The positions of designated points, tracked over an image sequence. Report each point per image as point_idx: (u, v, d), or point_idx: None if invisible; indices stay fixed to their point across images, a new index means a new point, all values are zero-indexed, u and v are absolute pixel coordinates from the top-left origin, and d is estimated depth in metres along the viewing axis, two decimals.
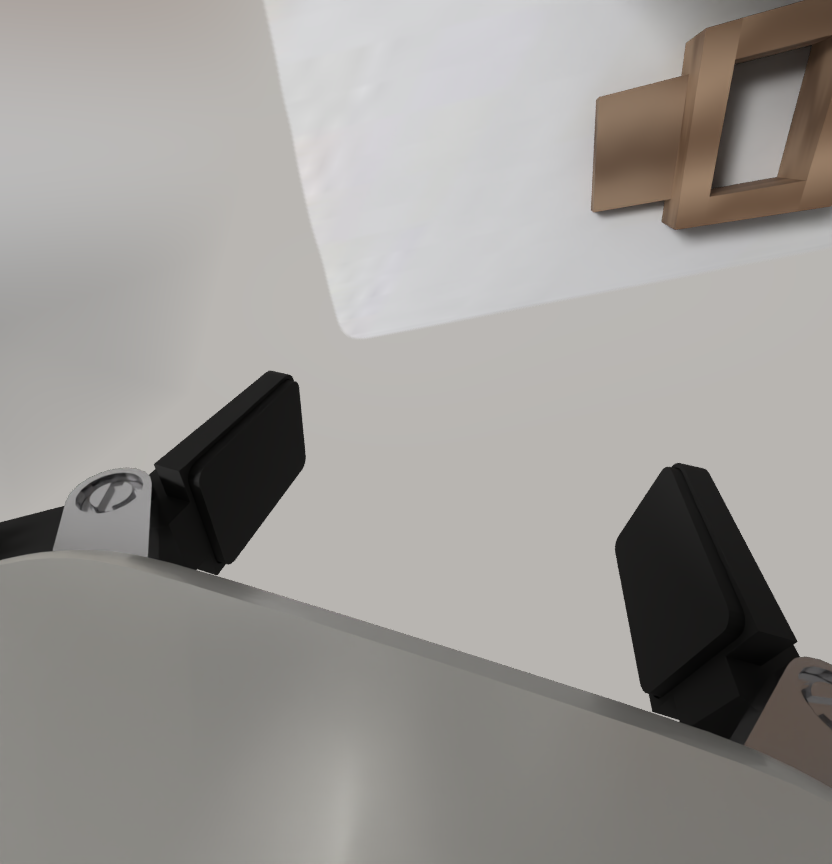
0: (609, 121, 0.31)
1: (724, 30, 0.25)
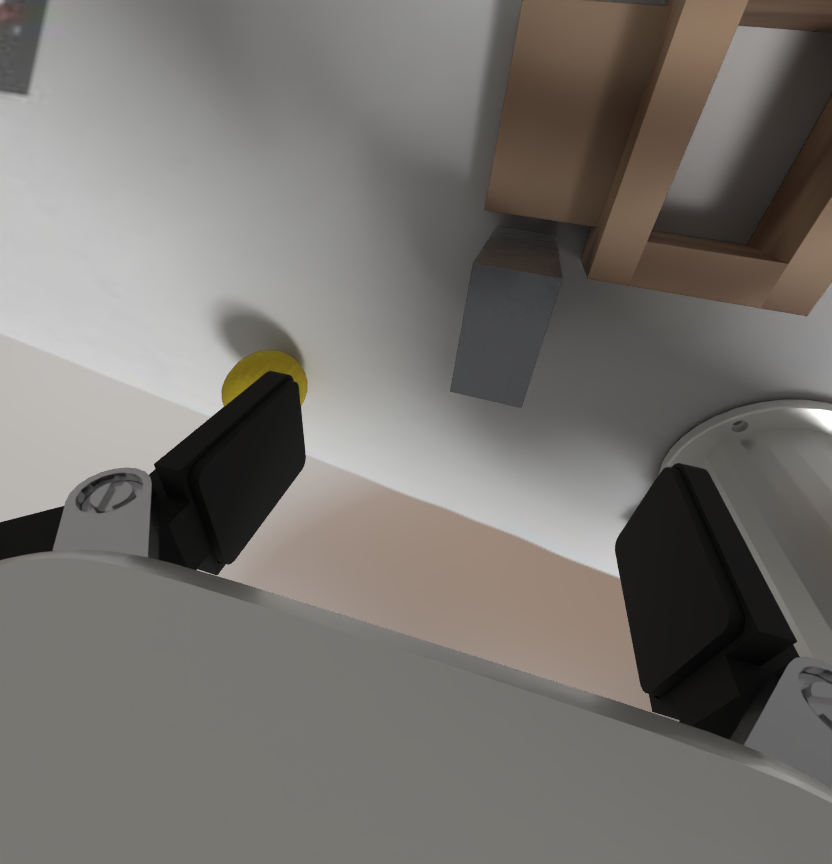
0: None
1: (786, 304, 0.18)
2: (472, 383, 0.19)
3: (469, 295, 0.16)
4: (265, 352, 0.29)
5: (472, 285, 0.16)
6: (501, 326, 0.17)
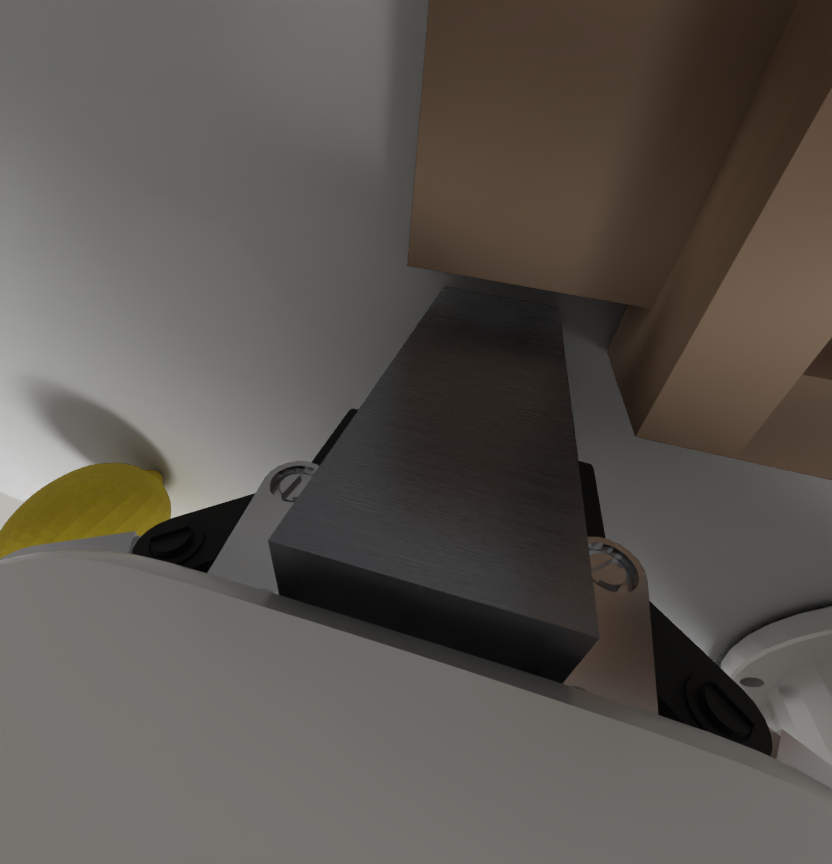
0: None
1: None
2: None
3: None
4: (81, 475, 0.18)
5: (286, 587, 0.05)
6: None
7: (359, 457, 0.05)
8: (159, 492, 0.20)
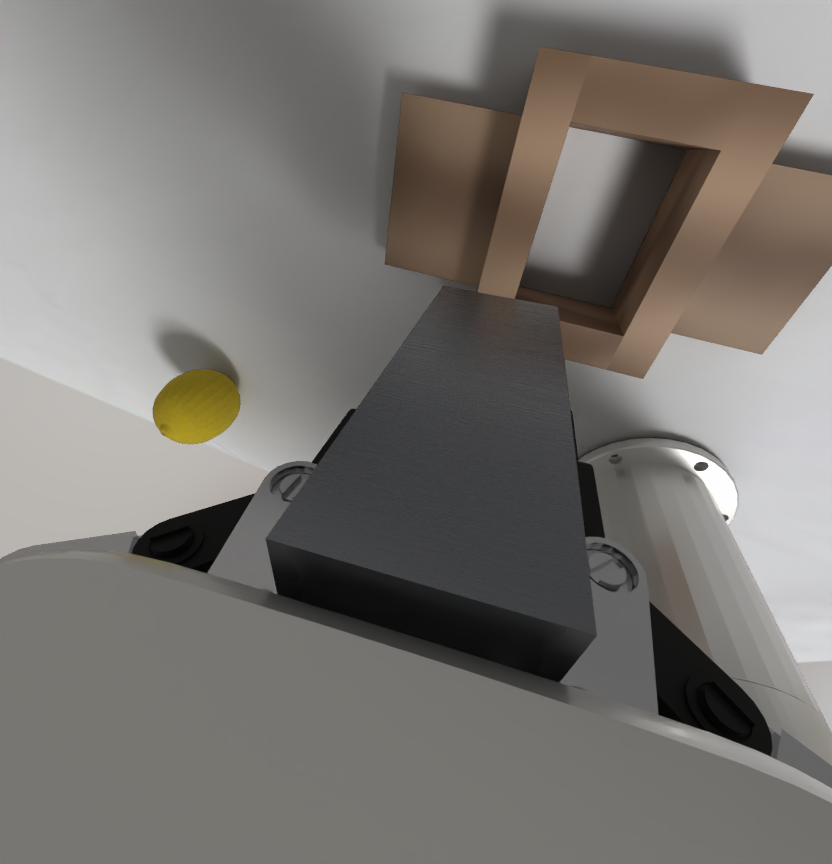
0: (768, 322, 0.21)
1: (626, 367, 0.21)
2: None
3: None
4: (197, 372, 0.31)
5: (284, 585, 0.05)
6: None
7: (357, 456, 0.05)
8: (236, 389, 0.33)
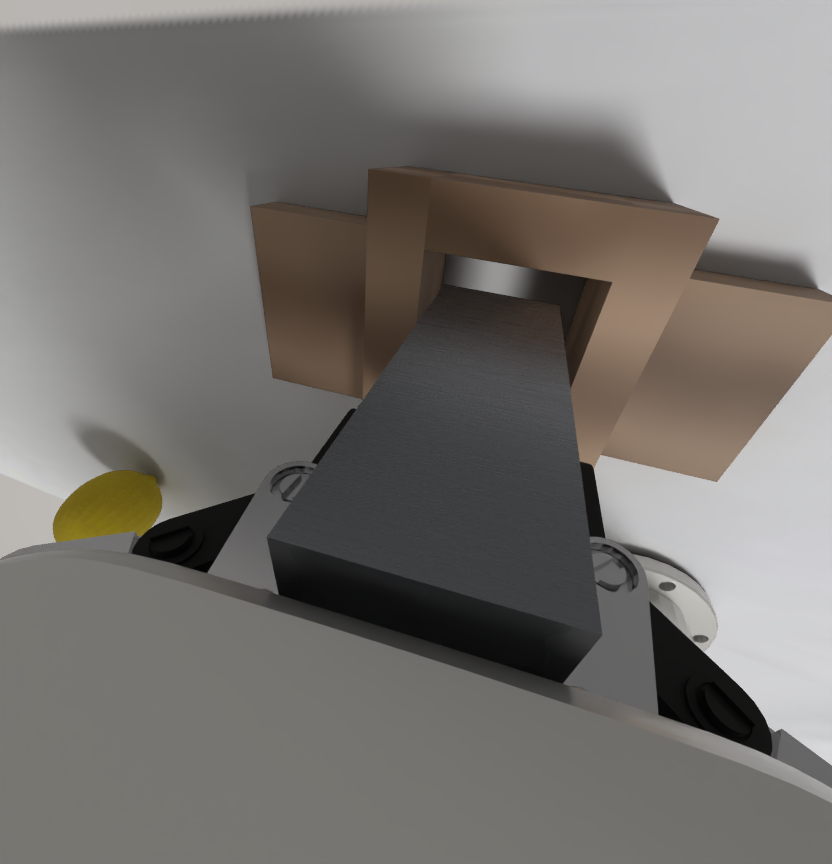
0: (718, 448, 0.17)
1: None
2: None
3: None
4: (105, 478, 0.28)
5: (286, 584, 0.05)
6: None
7: (359, 454, 0.05)
8: (154, 489, 0.30)
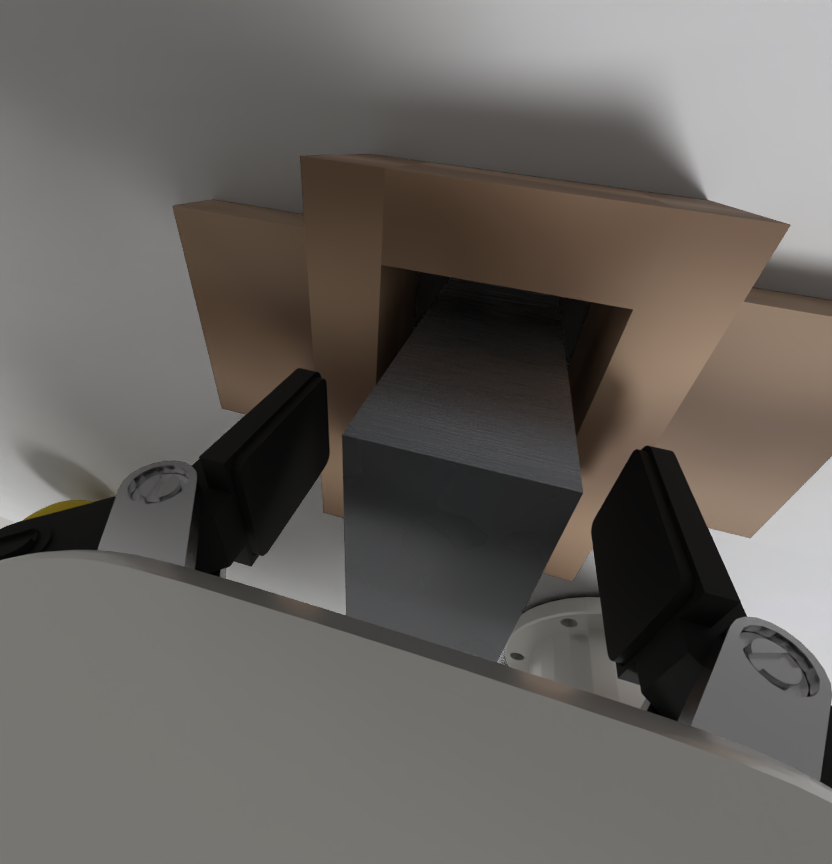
0: (754, 501, 0.14)
1: (546, 567, 0.14)
2: (387, 627, 0.09)
3: (348, 495, 0.07)
4: (50, 511, 0.25)
5: (350, 478, 0.06)
6: (432, 557, 0.07)
7: (400, 388, 0.07)
8: None
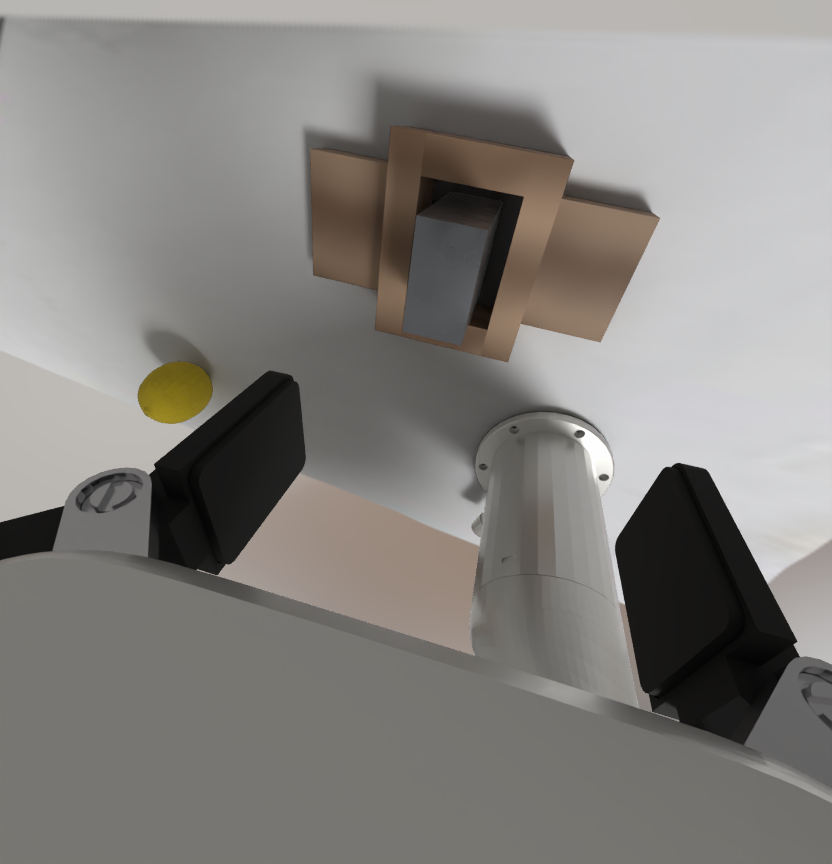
0: (599, 317, 0.27)
1: (494, 354, 0.28)
2: (420, 324, 0.22)
3: (414, 244, 0.19)
4: (174, 364, 0.38)
5: (416, 235, 0.19)
6: (441, 271, 0.20)
7: (432, 211, 0.20)
8: (208, 377, 0.40)
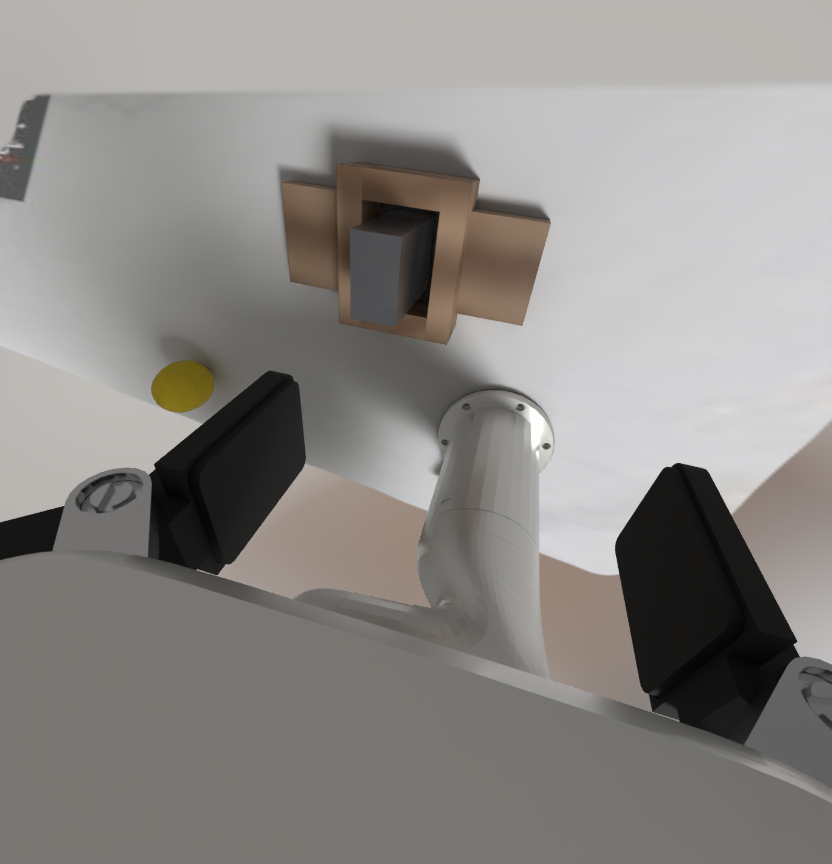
0: (517, 305, 0.33)
1: (435, 338, 0.34)
2: (363, 311, 0.28)
3: (351, 249, 0.26)
4: (181, 362, 0.45)
5: (351, 243, 0.26)
6: (373, 270, 0.26)
7: (365, 225, 0.26)
8: (210, 373, 0.47)
